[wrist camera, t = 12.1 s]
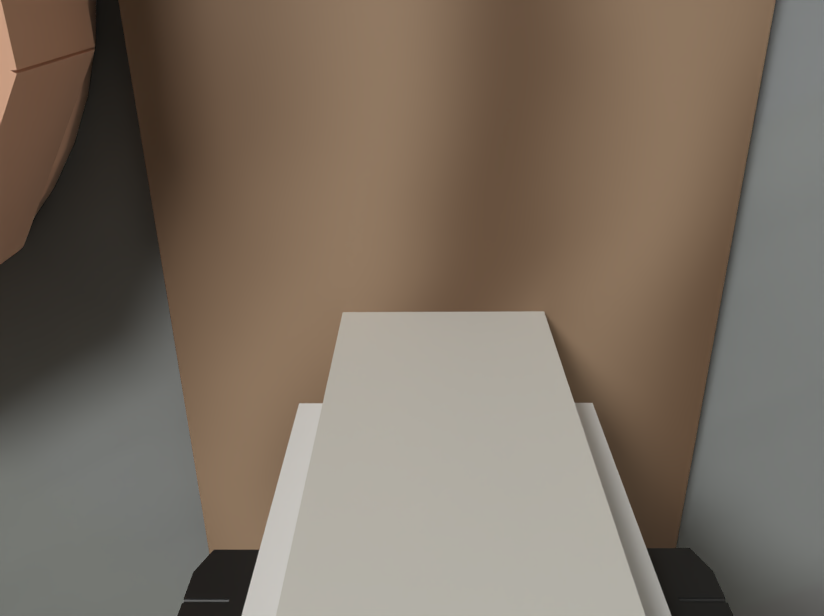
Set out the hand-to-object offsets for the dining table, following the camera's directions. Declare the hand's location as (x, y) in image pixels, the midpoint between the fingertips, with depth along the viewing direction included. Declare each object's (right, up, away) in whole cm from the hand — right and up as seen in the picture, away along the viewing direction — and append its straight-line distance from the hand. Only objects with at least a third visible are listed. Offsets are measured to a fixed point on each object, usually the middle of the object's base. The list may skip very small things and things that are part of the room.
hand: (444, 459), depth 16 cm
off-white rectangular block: (0, +1, +2) cm, 2 cm away
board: (0, +1, +2) cm, 3 cm away
